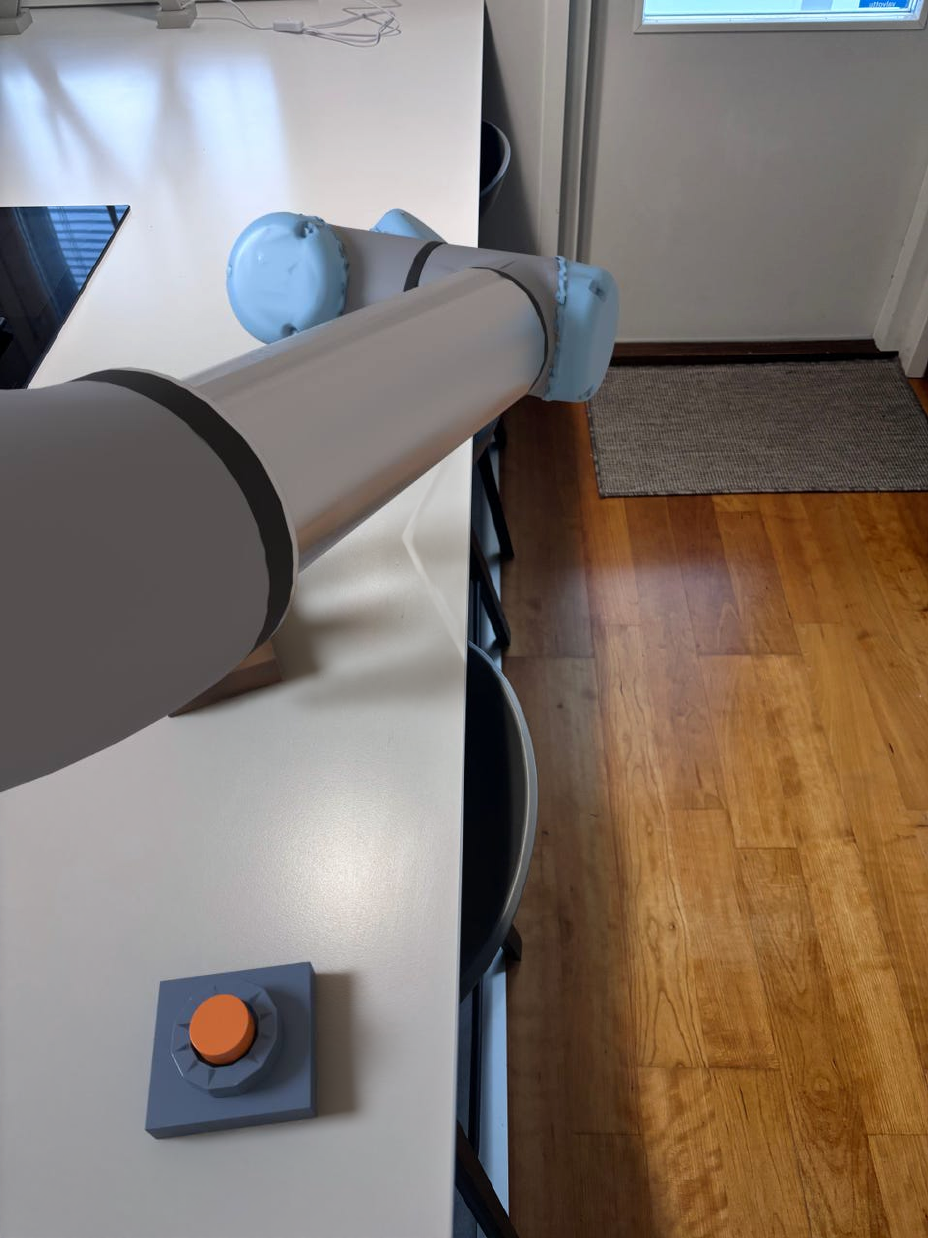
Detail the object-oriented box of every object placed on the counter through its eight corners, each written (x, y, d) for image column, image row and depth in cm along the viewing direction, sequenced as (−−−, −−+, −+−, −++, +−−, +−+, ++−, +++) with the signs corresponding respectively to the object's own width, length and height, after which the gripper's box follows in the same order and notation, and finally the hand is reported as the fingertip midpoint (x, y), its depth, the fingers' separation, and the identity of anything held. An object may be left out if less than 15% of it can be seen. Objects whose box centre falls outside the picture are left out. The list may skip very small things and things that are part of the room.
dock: (252, 587, 89) (245, 564, 87) (283, 679, 82) (276, 656, 79) (147, 620, 87) (136, 597, 85) (168, 718, 80) (157, 695, 77)
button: (194, 1068, 58) (186, 1059, 56) (199, 1008, 60) (191, 998, 59) (254, 1060, 58) (247, 1051, 56) (256, 1000, 60) (249, 990, 59)
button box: (155, 1139, 58) (134, 1122, 55) (169, 993, 64) (151, 970, 61) (317, 1117, 59) (305, 1099, 56) (316, 973, 65) (305, 950, 62)
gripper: (403, 530, 66) (242, 726, 74) (309, 348, 82) (186, 527, 90) (316, 493, 61) (154, 708, 69) (234, 307, 77) (110, 500, 85)
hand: (171, 606), depth 79 cm, fingers open, 13 cm apart
